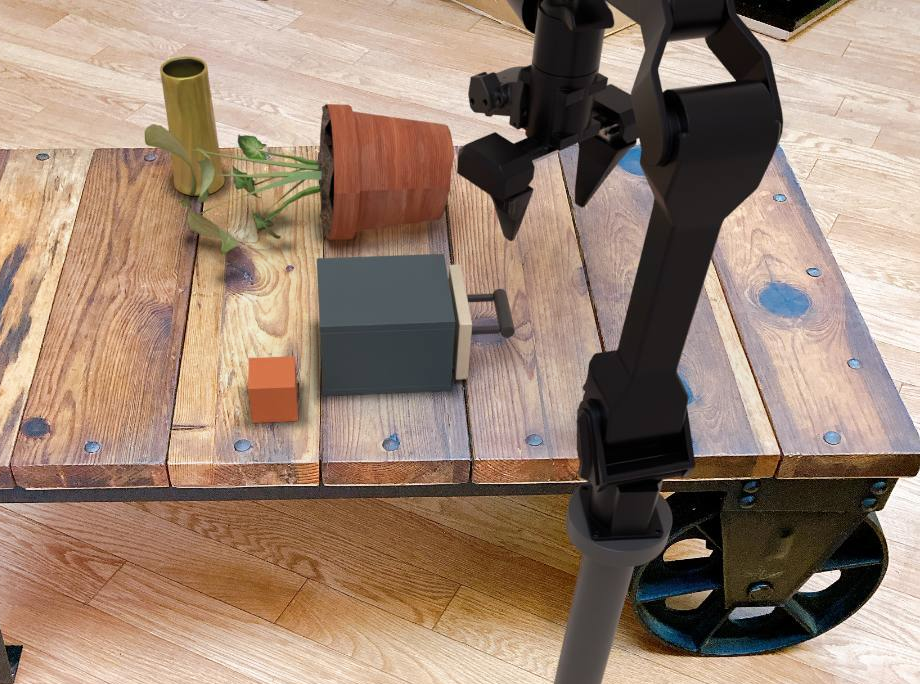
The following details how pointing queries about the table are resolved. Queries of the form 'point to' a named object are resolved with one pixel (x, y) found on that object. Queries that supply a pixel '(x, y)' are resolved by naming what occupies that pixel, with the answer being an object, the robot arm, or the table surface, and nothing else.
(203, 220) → the potted plant
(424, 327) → the cabinet
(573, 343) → the table surface
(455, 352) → the drawer
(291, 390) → the block
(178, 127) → the vase
